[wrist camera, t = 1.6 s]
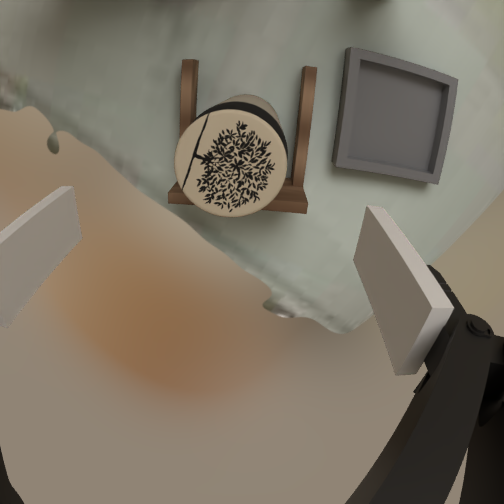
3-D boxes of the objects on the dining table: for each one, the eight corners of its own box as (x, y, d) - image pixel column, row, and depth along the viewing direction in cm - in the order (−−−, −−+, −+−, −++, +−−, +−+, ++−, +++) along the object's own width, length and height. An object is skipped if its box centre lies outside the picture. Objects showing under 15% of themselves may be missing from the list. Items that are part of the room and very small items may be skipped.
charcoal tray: (345, 48, 30) (351, 46, 27) (448, 78, 30) (458, 79, 27) (331, 161, 37) (335, 166, 35) (429, 178, 37) (438, 184, 35)
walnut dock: (188, 61, 31) (169, 56, 24) (313, 68, 31) (325, 65, 24) (185, 179, 39) (168, 203, 32) (299, 187, 39) (306, 213, 32)
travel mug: (292, 115, 34) (314, 146, 19) (257, 169, 38) (251, 240, 23) (232, 82, 33) (204, 84, 17) (200, 139, 36) (152, 188, 21)
